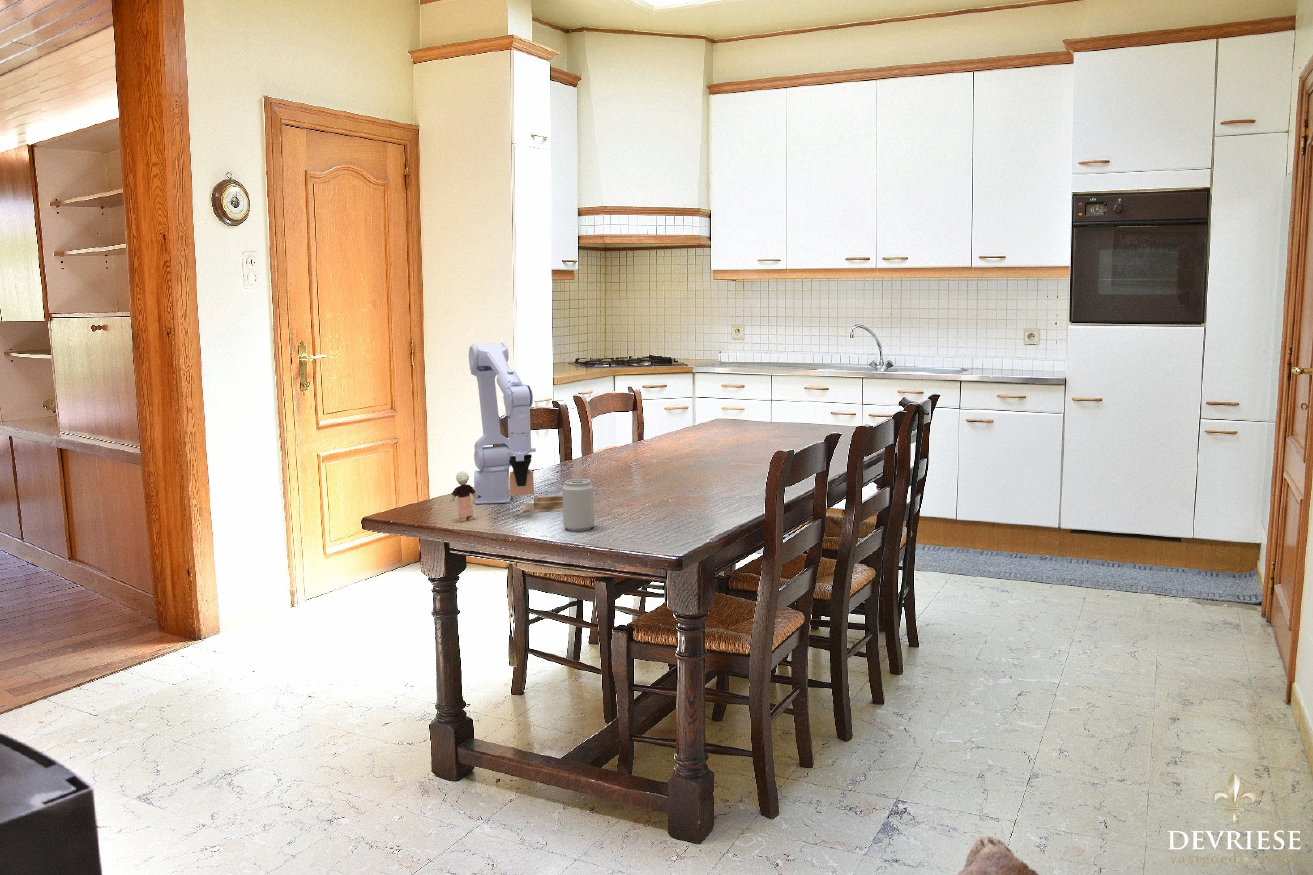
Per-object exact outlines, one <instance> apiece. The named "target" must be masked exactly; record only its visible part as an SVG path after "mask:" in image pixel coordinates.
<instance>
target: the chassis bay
mask: <svg viewBox="0 0 1313 875" xmlns="http://www.w3.org/2000/svg"><path fill="white" fill-rule="evenodd" d="M522 511H523V512H522V513H524V514H525V513H546V512H563V495H550V496H549V495H547V496H533V502H532V503H523V510H522Z"/></svg>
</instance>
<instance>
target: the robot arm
mask: <svg viewBox="0 0 1313 875" xmlns="http://www.w3.org/2000/svg"><path fill="white" fill-rule="evenodd" d="M509 358H510V357H509V349H508V345H506V343H505V342H499V343H496V342H495V343H480V344H479V343H477V344H476V343H472V344H471V345H470V346H469V349H468V363H469V371H470V374H471V375H472V376H475V377H476V382H477V388H478V396H479V404H480V417H481V425H482V436H481V437H480V438H478V440H477V441H475V443H474V451H473V452H474V454H473V457H474V458H473V460H474V461H473V462H474V465H475V467H476V468H477V469H478V470H474V473H473V484H474V486H473V487H474V488H473V489H474V490H475V492H476V495H477V496H478V498H477V499H475V498H474V504H475V505H480V504H481V505H482V504H503V503H504V504H505V503H507V504H508V503H510V502H511V495H509V481H508V480H509V478H508V474H509V473H508V470H510V467H511V468H512V472H513V471H514V474H515V479H516V483H517V486H526V481H527V472H528V469H530V468H529V467H530V465H531V463H532V458H533V456H532V454H531V453H536V452H537V449H536V448H535V447H534V448H532V434H531V432H532V431H531V430H532V429H531V411H530V410H531V409H530V408H532V406H533V402H534V395H533V390H532V388H531V386H530V385H529V384H526V383H523V381H522V380H521V378H520V377H519V374H518V373H517V372H516V370H514V369H511V368H510V366H509V363H508V361H509ZM496 383H497V385H498V387H499V390H501V392H502V394H503V395H502V396H503V397H502V398H503V399H502V400H503V405H504V409H505V415H506V416H507V429H508V430H507V431H508V432H507V433H508V438H507V437H506V436H504V435H503V434H502V433H501V424H500V414H499V408H498V407H499V406H498V396H497V387H496Z"/></svg>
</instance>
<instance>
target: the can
mask: <svg viewBox="0 0 1313 875" xmlns="http://www.w3.org/2000/svg"><path fill="white" fill-rule="evenodd" d="M561 488H562V496H563V511H562V514H563V515H562V517H563V526H564V528H565V529H566V530H568V531H572V532H583V531H589V530H591V529H592V527H594V525H595V509H594V508H595V504H594V501H595V500H594V486H593V485H592V484H591V480H590V479H586V478H571V479H567V480H565V481H564V484H563V486H562V487H561Z"/></svg>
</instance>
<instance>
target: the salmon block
mask: <svg viewBox="0 0 1313 875" xmlns="http://www.w3.org/2000/svg"><path fill="white" fill-rule="evenodd" d="M534 483H535V481H534V470H531V469H530V468H528V472H527V481H526V486H517V483H516V479H515V474H514V471H513V470H512V471H509V493H510V494H509V496H528V495H529V496H531V495H533V496H534V494H535V484H534Z"/></svg>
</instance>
